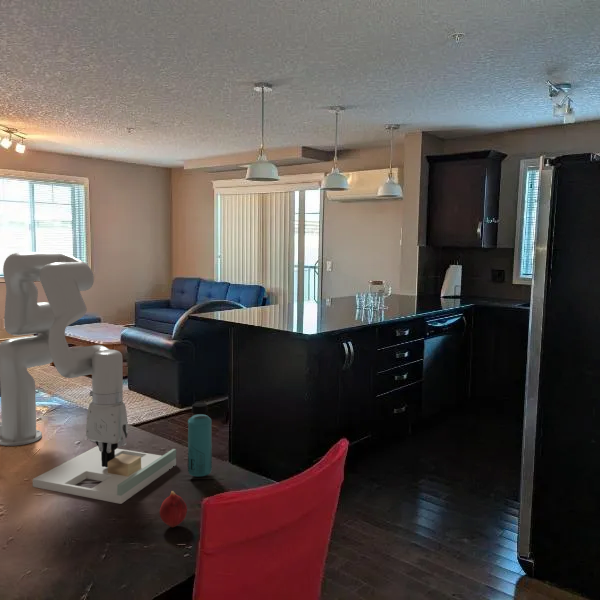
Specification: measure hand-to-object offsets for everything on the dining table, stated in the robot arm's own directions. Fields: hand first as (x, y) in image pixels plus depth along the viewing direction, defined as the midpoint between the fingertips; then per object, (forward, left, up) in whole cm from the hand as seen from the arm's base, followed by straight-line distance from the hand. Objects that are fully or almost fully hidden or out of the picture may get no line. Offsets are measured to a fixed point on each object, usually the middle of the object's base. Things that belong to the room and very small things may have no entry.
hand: (108, 464), depth 145 cm
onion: (+30, -18, -3) cm, 35 cm away
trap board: (0, 0, -3) cm, 3 cm away
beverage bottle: (+23, +7, -3) cm, 24 cm away
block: (+5, 0, -1) cm, 5 cm away
